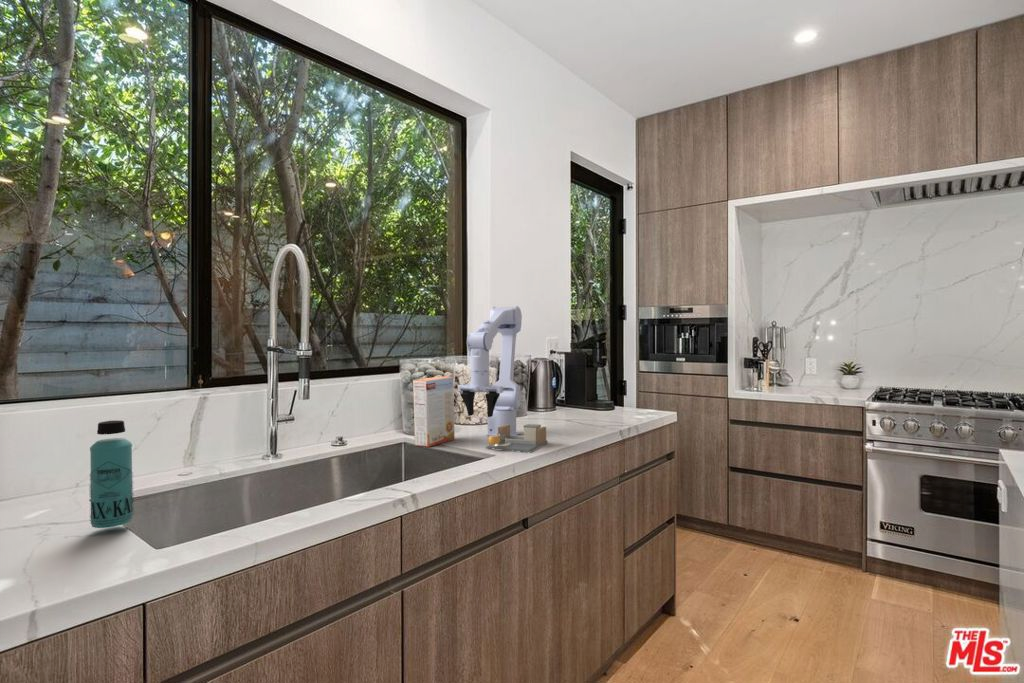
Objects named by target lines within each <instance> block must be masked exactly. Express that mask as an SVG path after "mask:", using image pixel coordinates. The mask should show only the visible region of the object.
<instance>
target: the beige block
mask: <svg viewBox="0 0 1024 683" xmlns="http://www.w3.org/2000/svg"><path fill="white" fill-rule="evenodd" d="M541 426H542V425H541V424H538V423H537V424H536V423H526V424H524V425H523V436H524V440H532V441H536V430H537V429H539V428H541Z"/></svg>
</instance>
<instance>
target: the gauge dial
mask: <svg viewBox="0 0 1024 683" xmlns="http://www.w3.org/2000/svg"><path fill="white" fill-rule="evenodd" d="M497 435H500V442H499V443H496V444H495V445H492V446H499V447H502V446H509V445H511V443H510V442H505V433H497Z"/></svg>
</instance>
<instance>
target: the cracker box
mask: <svg viewBox="0 0 1024 683" xmlns="http://www.w3.org/2000/svg"><path fill="white" fill-rule="evenodd" d="M412 395H413V424H414V425H413V426H414V427H413V428H414V429H413V430H414V446H417V447H425V448H429V447H433V446H436V445H439V444H443V443H447V442H449V440H450V441H453V440H455V410H454V409H455V405H454V403H455V402H454V398H455V397H454V377H453V376H444V375H443V376H435V377H427V378H419V379H414V380H412ZM452 439H453V440H452Z"/></svg>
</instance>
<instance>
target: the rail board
mask: <svg viewBox="0 0 1024 683" xmlns="http://www.w3.org/2000/svg"><path fill="white" fill-rule="evenodd" d="M498 433H505V442H510V443H511V445H509V446H502V447H499V446H492V445H489V444H488V445H486V449H487V448H494V449H502V450H501V451H505V450H513V451H512V452H517V451H524V452H523V453H528V452H530V451H531V452H533V451H535V450H537V449H539V448H540V446H541V447H542V445H543V446H544V444H545V443H547V444H548V440H547V426H542V427H541V428H539V429H537V430H536V441H532V440H524V435H510V425H509V424H505V425H503V426H500V427H498ZM545 445H546V444H545ZM538 447H539V448H538ZM536 448H537V449H536ZM534 449H535V450H534ZM532 450H533V451H532ZM531 452H530V453H531Z"/></svg>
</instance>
